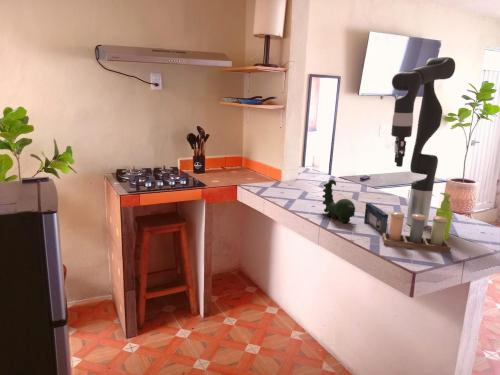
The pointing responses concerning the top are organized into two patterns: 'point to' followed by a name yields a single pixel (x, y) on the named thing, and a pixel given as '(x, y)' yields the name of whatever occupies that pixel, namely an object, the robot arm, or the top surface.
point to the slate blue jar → (417, 228)
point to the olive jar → (438, 230)
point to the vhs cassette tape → (376, 218)
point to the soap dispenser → (445, 213)
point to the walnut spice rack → (416, 244)
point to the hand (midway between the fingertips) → (398, 164)
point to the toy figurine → (337, 204)
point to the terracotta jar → (396, 226)
